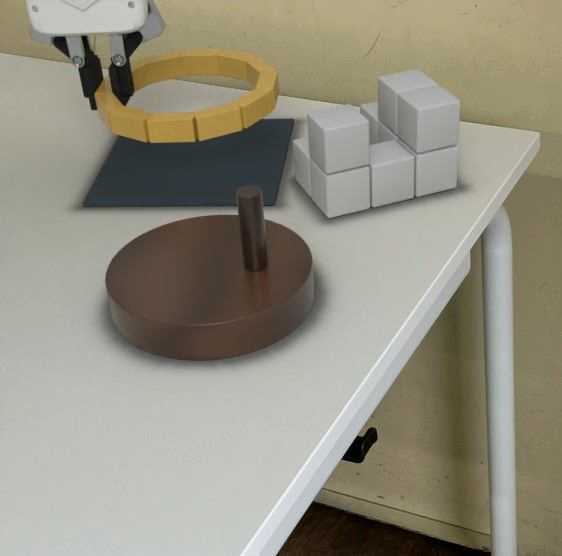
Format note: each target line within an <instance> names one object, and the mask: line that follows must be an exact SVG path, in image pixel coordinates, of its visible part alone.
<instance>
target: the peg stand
mask: <svg viewBox="0 0 562 556" xmlns="http://www.w3.org/2000/svg"><path fill="white" fill-rule="evenodd" d="M236 198H237V205H236V206H237V214H211V215H210V214H209V215H199V216H195V217H188V218H184V219H179V220H174V221H172V222H167V223H165V224H162V225H160V226H157V227H154V228H152V229H150V230H148V231H146V232H143V233H142V234H141V233H140V235H138V236H137V237H134V238H133V239H131V240H130V241H129V242H128V243H126V244H124V246H122V247H121V248H120V249H119V250H118V251H117V252H116V254H114V256H113V257H112V258H111V260H110V262H109V264H108V266H107V269H106V272H105V278H104V283H105V289H106V293H107V298H108V303H109V308H110V312H111V317H112V321H113V324H114V326H115V328H116V329H117V331H118V333H119V334H120V335H121V336H122V337H123V338H124V339H125V340H126V341H127V342H128V343H130V344H132V345H133V346H135V347H136V348H139V349H141V350H143V351H145V352H148V353H150V354H152V355H153V354H154V355H156V356H160V357H164V358H169V359H176V360H184V361H185V360H186V361H210V360H212V361H213V360H221V359H228V358H233V357H238V356H242V355H246V354H250V353H252V352H255V351H259V350H260V349H263V348H266V347H268V346H270V345H273V344H274V343H277V342H278V341H280V340H282V339H284V338H285V337H287V336H288V335H290V334H291V333H292V332H293V331H295V330H296V329H297V328H298V327H299V326H300V325H302V323H304V321H305V319H306V318H307V317H308V315H309V314H310V312H311V309H312V308H313V304H314V300H315V279H314V278H315V277H314V263H313V262H314V261H313V255H312V251H311V249H310V247H309V245H308V244H307V242H306V241H305V240H304V238H303V237H302V236H300V234H298V233H297V232H295V231H294V230H292V229H291V228H289V227H287V226H285V225H283V224H281V223H278V222H275V221H273V220H269V219H265V211H264V210H265V209H264V205H263V197H262V189H261V188H260V187H258V186H254V185H247V186H243V187H240V188H239V189H237V191H236Z"/></svg>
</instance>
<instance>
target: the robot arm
mask: <svg viewBox="0 0 562 556" xmlns="http://www.w3.org/2000/svg"><path fill="white" fill-rule="evenodd" d="M25 4H26V10H27V15H28V18H29V22H30V29H29V36H30V38H31V39H32V40H33V41H35V42H40V43H42V44H45V45H49V46H54V47H55V48H56V49H57V50H58V51H59V52H60V53H62V54H63V55H64V56H66V58H68V59H70V62H71V65H72V66H74V68H77V69H78V75H79V79H80V84H81V89H82V94H83V98H84V99H85V98H86V99H88V101H89V105H90V110H91V111H97V106H96V101H95V92H96V91H97V89H98V88H99V86H100V84H101V83H102V81H103V80H104V78H105V76H104V73H103V67H102V63H101V58H100V57H99V55H98V54H95V51H93V45H92V40H91V36H105V35H106V36H108V40H109V48H110V54H111V57H110V62H111V63H110V65H109V66H108V69H107V71H108V74H109V77H110V83H111V88H112V92H113V94H114V95H115V96H116V97H117V99H118V100H119V101H120V102H121V103H122V105H123V106H127V104H128V103H129V101H130V100H131V97H133V96H134V94H135V92H134V83H133V77H132V71H131V65H130V63H131V60H130V58H131V56H132V55H133V54H134V53H135V51H137V49H138V47H139V46H140V45H142V44H143V43H146V42H149V41H151V40H153V39H155V38H158V37H160V36H162V34H163V33H164V31H165V30H166V26H167V24H166V22H165V20H164V18H163V16H162V14H161V13H160V10H159V9H158V6H157V5H156V3H155V0H25Z"/></svg>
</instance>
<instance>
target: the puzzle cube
mask: <svg viewBox="0 0 562 556" xmlns="http://www.w3.org/2000/svg"><path fill="white" fill-rule="evenodd" d="M460 116H461V100H460V99H459V98H458V97H456V96H455V95H453V93H451V92H450V91H448V90H447V89H446V88H444V87H443V86H441V85H440V84H438V83H437V82H436V81H434V80H433V78H431V77H430V76H428V75H427V74H426V73H423V72H422V71H421V70H420V69H418V68H414V69H409V70H405V71H400V72H396V73H390V74H386V75H380V76H378V77H377V100H376V101H372V102H367V103H362V104H360V105H359V110H358V109H357V108H356V107H354V106H353V105H352V104H351V103H346V104H342V105H337V106H333V107H328V108H324V109H319V110H314V111H309V112H307V113H306V119H307V136H305V137H301V138H295V139H293V140H292V150H293V165H294V166H293V169H294V179H295V181H296V182H297V184H298V185H300V187H301V188H302V189H303V190H304V192H305V193H306V195H308V197H309V198H311V200H312V201H313V202H314V204H316V206H317V207H318V209H319V210H320V211H321V212H322V213H323V214H324V215H325V217H327V219H332V218H336V217H341V216H345V215H349V214H354V213H358V212H362V211H366V210H369V209H370V208H371V207H372V208H378V207H382V206H387V205H390V204H394V203H398V202H402V201H407V200H411V199H413V198H415V197H416V198H420V197H423V196H427V195H432V194H436V193H441V192H444V191H449V190H453V189H456V188H457V186H458V167H459V146H458V144H459V142H460V121H461V120H460V119H461V117H460Z"/></svg>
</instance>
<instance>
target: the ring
mask: <svg viewBox="0 0 562 556" xmlns="http://www.w3.org/2000/svg"><path fill="white" fill-rule="evenodd" d="M130 65H131V71H132V77H133V83H134V93H137V91H140V90H142V89H143V88H145V87H147V86H149V85H153V84H155V83H161V82H165V81H169V80H174V79H178V78H182V77H203V76H222V77H227V78H231V79H236V80H241V81H245V82H248V83H249V84H250V85H251V86H253V87H254V88H253V89H252V90H250V91H248V92H246V93H245V94H243V95H242V96H240V97H238V98H236V99H235V100H233V101H231V102H227V103H223V104H220V105H215V106H211V107H208V108H203V109H199V110H195V111H180V112H179V111H178V112H176V111H175V112H174V111H173V112H172V111H171V112H151V111H147V110H142V109H138V108H135V107H131V106H127V105H126V106H123V105H122V103H121V102H120V101H119V100H118V99H117V97H116V96H115V95H114V94H113V92H112V88H111V83H110V77H109V73H108V74H107V76H104V80H103V81H102V83H101V84H100V86H99V88H98V89H97V91H96V92H95V101H96V106H97V110H96V111H97V116H98V117H99V119H100V120H101V122H102V123H103V124H104V125H105V127H106V128H107V129H108V131H109V132H110V133H112V134H113V135H118V136H119V135H121V136H125V137H128V138H132V139H135V140H139V141H143V142H148V141H149V140H150V143H166V142H195V141H196V138H197V139H198V140H199V141H203V140H207V139H211V138H214V137H218V136H222V135H226V134H230V133H234V132H238V131H242V128H245V129H246V128H248V127H250V126H251V125H253V124H254V123H256V122H257V121H259V120H261V119H265V117H267V116H269V115H271V114H272V113H273V112H274V111H275V110H276V106H277V103H278V99H279V95H280V81H279V79H280V78H279V72H278V69H277V68H275V67H274V66H273V65H272V64H271V63H269V62H268V61H267V60H266V59H264V58H263V57H262V56H258V55H257V54H253V53H248V52H243V51H238V50H231V49H227V48H225V49H222V48H201V49H200V48H199V49H198V48H197V49H181V50H180V51H179V50H173V51H169V52H165V53H160V54H156V55H151V56H146V57H143V58H139V59H138V60H134V61H132V62H130Z"/></svg>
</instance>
